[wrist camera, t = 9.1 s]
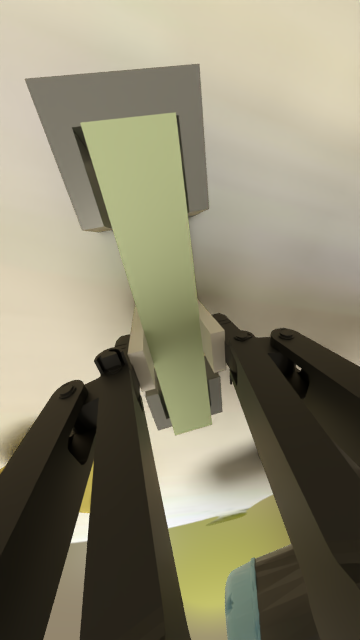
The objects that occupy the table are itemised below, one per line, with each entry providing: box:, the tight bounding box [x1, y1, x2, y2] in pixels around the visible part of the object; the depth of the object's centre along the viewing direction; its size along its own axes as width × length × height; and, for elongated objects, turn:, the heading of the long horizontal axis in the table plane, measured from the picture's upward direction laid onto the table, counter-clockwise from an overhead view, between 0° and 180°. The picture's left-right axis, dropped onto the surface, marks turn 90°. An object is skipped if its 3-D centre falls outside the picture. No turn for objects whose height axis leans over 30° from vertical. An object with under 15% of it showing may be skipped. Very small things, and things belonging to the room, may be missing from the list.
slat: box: [80, 112, 212, 435], centre depth 13 cm, size 20×4×5 cm, turn 9°
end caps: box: [25, 64, 222, 430], centre depth 14 cm, size 25×7×4 cm, turn 9°
